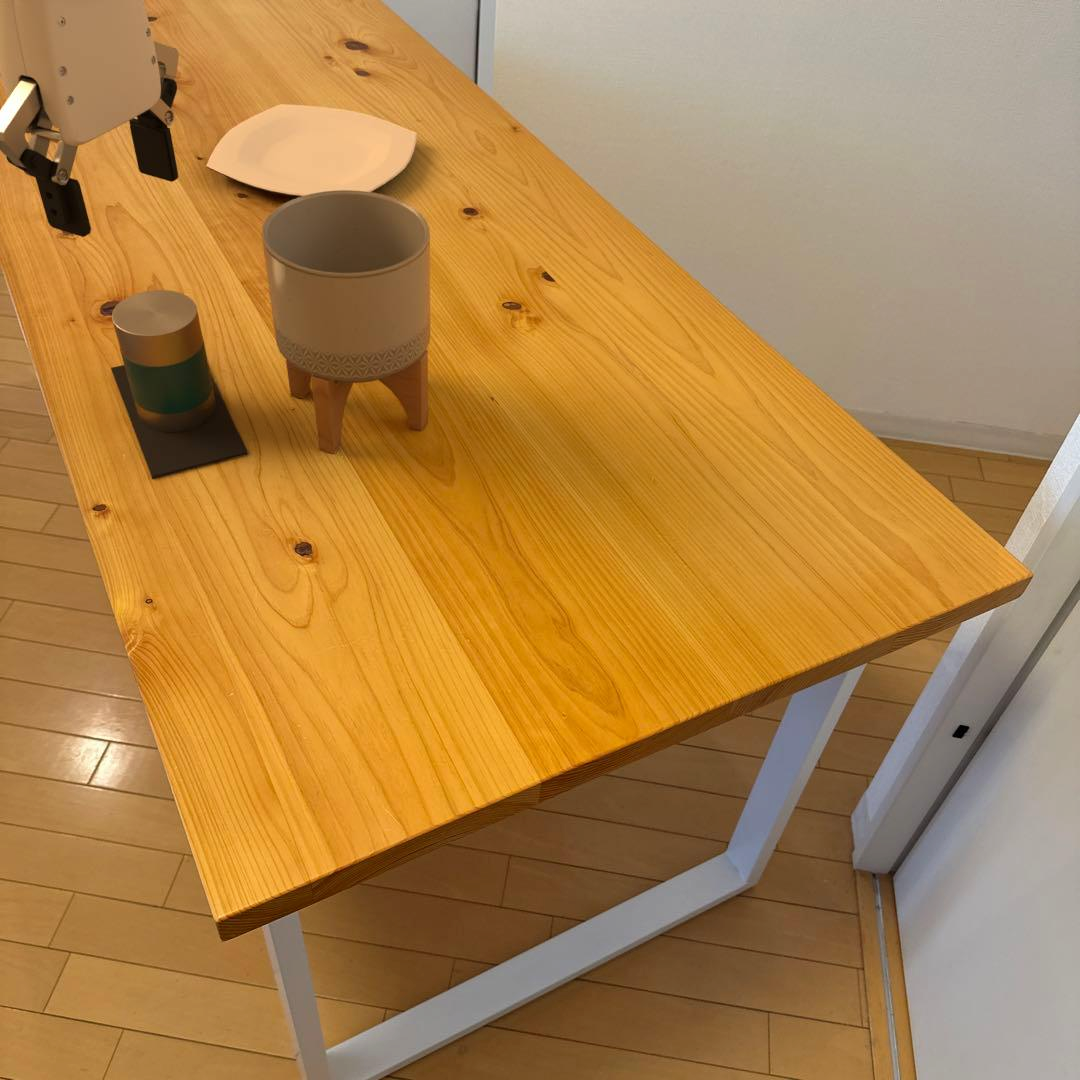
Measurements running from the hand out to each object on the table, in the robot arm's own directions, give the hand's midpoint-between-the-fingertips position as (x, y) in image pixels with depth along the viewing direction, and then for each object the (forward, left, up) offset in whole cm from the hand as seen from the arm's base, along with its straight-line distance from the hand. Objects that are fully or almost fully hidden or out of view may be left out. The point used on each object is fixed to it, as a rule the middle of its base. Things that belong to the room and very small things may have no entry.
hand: (117, 202), depth 74 cm
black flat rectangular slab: (0, +1, -21) cm, 21 cm away
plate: (-14, +48, -21) cm, 54 cm away
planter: (+14, +9, -21) cm, 26 cm away
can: (0, +1, -20) cm, 20 cm away
